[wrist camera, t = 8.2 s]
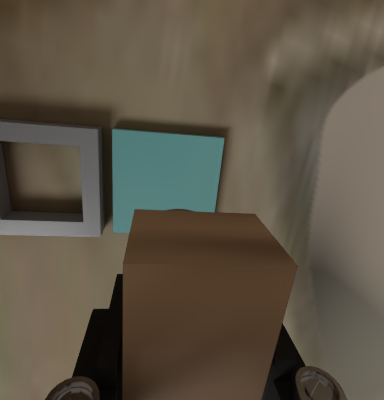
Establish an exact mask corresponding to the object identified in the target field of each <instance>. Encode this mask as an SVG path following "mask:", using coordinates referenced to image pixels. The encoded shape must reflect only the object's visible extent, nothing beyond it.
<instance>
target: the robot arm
mask: <svg viewBox="0 0 384 400" xmlns="http://www.w3.org/2000/svg"><path fill="white" fill-rule="evenodd" d="M122 377H123V274H117V277H116V281H115V286H114V290H113V294H112V299H111V303H110V307H109V309H94V310H93V311H92V314H91V317H90V320H89V324H88V327H87V330H86V333H85V337H84V340H83V343H82V346H81V350H80V353H79V356H78V359H77V363H76V366H75V369H74V372H73V376H72V378H69V379H66V380H64V381H63V382H61V383H59V384H58V385H56V386H55V387H54V388H53V389H52V390H51V391H50V392H49V394H48V396H47V397H46V399H45V400H122ZM261 400H347V398H346V395H345V393H344V391H343V389H342V388H341V386H340V384H339V383H338V382H337V381H336V380H335V379H334V378H333V377H332V376H331V375H330V374H329V373H327V372H326V371H324V370H322V369H320V368H317V367H313V366H305V364H304V362H303V360H302V358H301V356H300V354H299V353H298V351H297V349H296V347H295V345H294V343H293V342H292V340H291V338H290V336H289V334H288V332H287V331H286V329H285V327H284V325H283V323H282V326H281V330H280V333H279V337H278V341H277V344H276V348H275V352H274V355H273V359H272V363H271V366H270V370H269V374H268V377H267V381H266V385H265V388H264V392H263V396H262V399H261Z"/></svg>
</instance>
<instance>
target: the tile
mask: <svg viewBox="0 0 384 400" xmlns="http://www.w3.org/2000/svg"><path fill="white" fill-rule="evenodd" d="M224 139H225V138H224V137H221V136H208V135H196V134H183V133H171V132H159V131H146V130H134V129H122V128H113V129H112V171H113V232H118V233H130V228H131V224H132V219H133V214H134V210H135V209H144V210H170V209H187V210H191V211H195V212H215V206H216V198H217V191H218V184H219V176H220V169H221V161H222V154H223V146H224Z"/></svg>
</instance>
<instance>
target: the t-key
mask: <svg viewBox="0 0 384 400" xmlns="http://www.w3.org/2000/svg"><path fill="white" fill-rule="evenodd" d="M297 267H298V265H297V264H296V263H295V262H294V261H293V259H292V258H291V257H290V256H289V255H288V253H287V252H286V251H285V250H284V249H283V247H282V246H281V245H280V244H279V242H278V241H277V240H276V239H275V238H274V236H273V235H272V234H271V233H270V232H269V230H268V229H267V228H266V227H265V225H264V224H263V223H262V222H261V221H260V219H259V218H258V217H257V216H256V215H255V214H242V213H218V212H195V211H191V210H187V209H170V210H144V209H135V210H134V214H133V219H132V224H131V228H130V233H129V238H128V243H127V247H126V252H125V257H124V261H123V377H122V400H261V399H262V396H263V392H264V388H265V385H266V381H267V377H268V374H269V370H270V366H271V363H272V359H273V355H274V352H275V348H276V344H277V341H278V337H279V333H280V330H281V326H282V322H283V319H284V315H285V311H286V308H287V304H288V300H289V297H290V293H291V289H292V286H293V282H294V278H295V275H296V271H297Z"/></svg>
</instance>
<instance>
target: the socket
mask: <svg viewBox="0 0 384 400" xmlns="http://www.w3.org/2000/svg"><path fill="white" fill-rule="evenodd" d="M1 141H9V142H23V143H37V144H52V145H66V146H79V148H80V167H81V185H82V204H83V213H58V212H29V211H12V208H11V201H10V195H9V188H8V182H7V175H6V169H5V162H4V156H3V149H2V143H1ZM104 228H105V226H104V183H103V140H102V127H97V126H85V125H72V124H60V123H48V122H35V121H23V120H11V119H0V235H32V236H76V237H101V235H102V233H103V230H104Z"/></svg>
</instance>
